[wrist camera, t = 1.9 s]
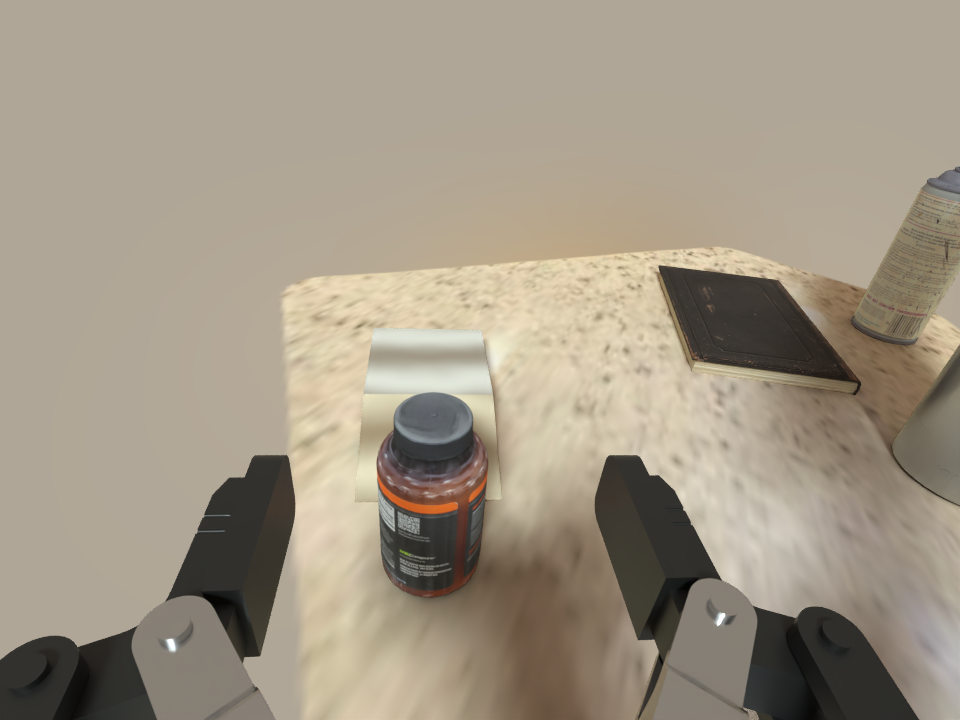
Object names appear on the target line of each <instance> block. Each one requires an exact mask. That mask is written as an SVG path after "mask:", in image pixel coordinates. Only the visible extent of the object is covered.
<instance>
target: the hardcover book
mask: <svg viewBox="0 0 960 720" xmlns="http://www.w3.org/2000/svg"><path fill="white" fill-rule="evenodd" d="M658 268H659V271H660V276H659V280H660V283H661V286H662V289H663V291H664V294H665V297H666V300H667V303H668V306H669V308H670V311H671V314H672V317H673V320H674V323H675V325H676V328H677V331H678V334H679V337H680V339H681V342H682V345H683V348H684V351H685V354H686V356H687V359H688V362H689V365H690V368H691V371H692V372H700V373H707V374H714V375H721V376H729V377H736V378H743V379H750V380H758V381H765V382H772V383H779V384H787V385H794V386H801V387H808V388H815V389H823V390H830V391H837V392H844V393H852V394H853V395H856V393H857V392H858V390H859V389H860V386H861V382H860V381H859V380H858V378H857V377H856V376H855V375H854V373H853V372H852V371H851V370H850V368H849V367H848V366H847V365H846V363H845V362H844V361H843V360H842V359H841V357H840V356H839V355H838V354H837V352H836V351H835V350H834V349H833V347H832V346H831V345H830V344H829V342H828V341H827V340H826V339H825V337H824V336H823V335H822V334H821V332H820V331H819V330H818V329H817V327H816V326H815V325H814V324H813V323H812V321H811V320H810V319H809V318H808V316H807V315H806V314H805V313H804V311H803V310H802V309H801V308H800V306H799V305H798V304H797V303H796V301H795V300H794V299H793V298H792V296H791V295H790V294H789V293H788V291H787V290H786V289H785V288H784V287H783V285H782V284H781V283H780V282H779V281H778V280H773V279H765V278H757V277H749V276H741V275H733V274H725V273H717V272H709V271H701V270H693V269H685V268H677V267H668V266H660V265H659V267H658Z"/></svg>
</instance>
